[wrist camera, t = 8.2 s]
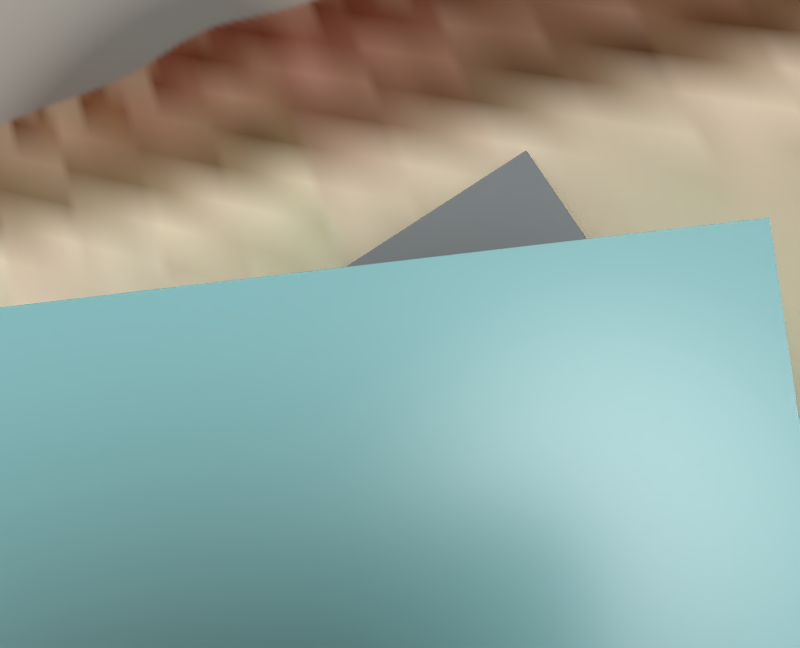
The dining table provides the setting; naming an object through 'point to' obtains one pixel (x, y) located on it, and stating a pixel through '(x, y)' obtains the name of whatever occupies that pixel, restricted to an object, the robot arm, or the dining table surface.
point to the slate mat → (486, 218)
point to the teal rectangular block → (412, 455)
